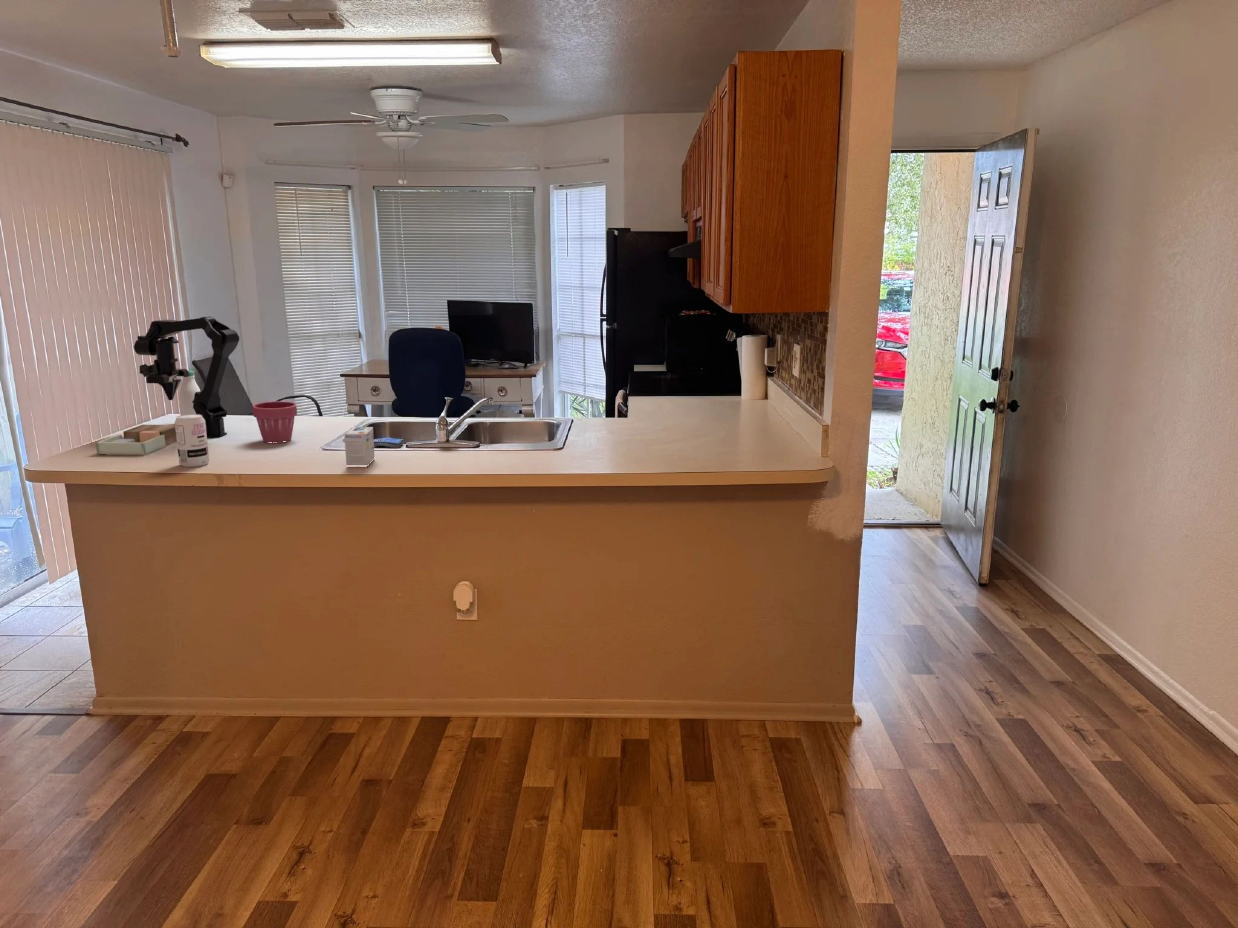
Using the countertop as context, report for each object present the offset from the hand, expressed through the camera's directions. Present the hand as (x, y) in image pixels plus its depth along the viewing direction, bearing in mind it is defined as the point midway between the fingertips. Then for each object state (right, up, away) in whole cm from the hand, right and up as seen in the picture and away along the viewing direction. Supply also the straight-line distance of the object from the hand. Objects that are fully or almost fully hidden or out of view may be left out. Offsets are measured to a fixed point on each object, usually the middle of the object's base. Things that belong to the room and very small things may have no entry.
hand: (170, 400), depth 300 cm
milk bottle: (-2, -8, +20) cm, 22 cm away
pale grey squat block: (-2, -15, -26) cm, 30 cm away
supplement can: (+29, -23, -41) cm, 56 cm away
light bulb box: (+79, -23, -38) cm, 91 cm away
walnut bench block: (+1, -15, -13) cm, 20 cm away
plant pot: (+41, -15, -7) cm, 44 cm away
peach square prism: (+5, -14, -20) cm, 25 cm away
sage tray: (+1, -18, -25) cm, 31 cm away
